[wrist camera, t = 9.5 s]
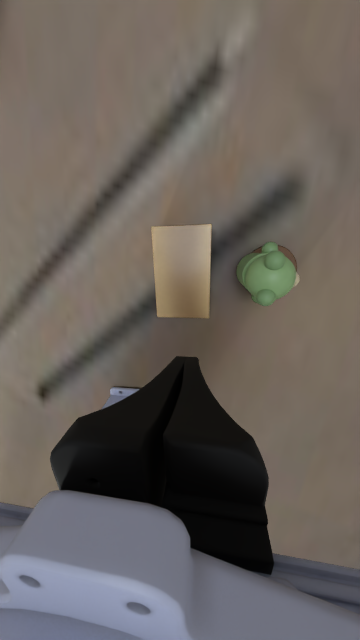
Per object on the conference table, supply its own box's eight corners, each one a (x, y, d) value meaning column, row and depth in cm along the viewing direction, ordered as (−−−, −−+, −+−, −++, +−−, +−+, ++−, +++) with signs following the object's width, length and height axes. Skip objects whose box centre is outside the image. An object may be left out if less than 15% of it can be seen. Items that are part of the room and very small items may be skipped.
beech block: (163, 308, 22) (157, 317, 19) (159, 230, 19) (151, 226, 16) (209, 309, 21) (209, 318, 18) (211, 228, 18) (211, 223, 16)
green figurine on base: (202, 294, 18) (265, 320, 12) (209, 237, 16) (286, 237, 11) (261, 292, 22) (328, 310, 16) (272, 245, 20) (351, 248, 15)
